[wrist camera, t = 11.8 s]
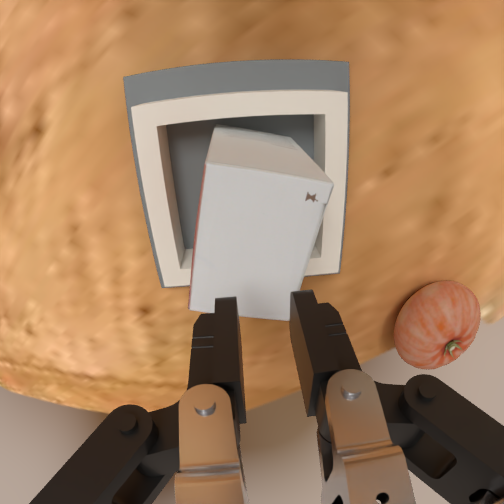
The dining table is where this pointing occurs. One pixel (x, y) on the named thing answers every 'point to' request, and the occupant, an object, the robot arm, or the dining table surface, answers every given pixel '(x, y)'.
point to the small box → (255, 222)
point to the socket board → (242, 116)
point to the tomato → (437, 324)
